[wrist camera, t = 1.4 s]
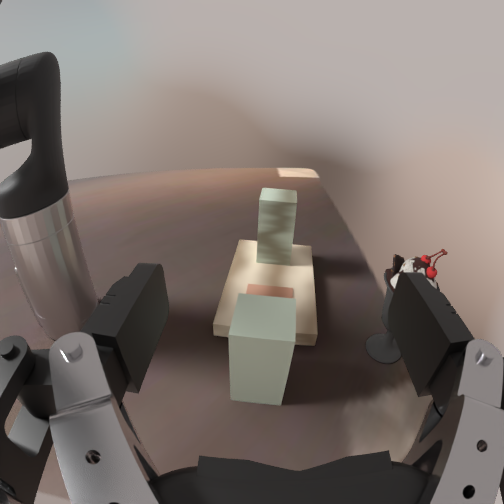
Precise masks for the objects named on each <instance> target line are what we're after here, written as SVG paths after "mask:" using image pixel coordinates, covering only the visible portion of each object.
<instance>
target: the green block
mask: <svg viewBox="0 0 504 504" xmlns="http://www.w3.org/2000/svg"><path fill="white" fill-rule="evenodd" d="M295 334H296V299H293V298H282V297H272V296H262V295H252V294H243V293H239V294H238V298H237V302H236V306H235V310H234V314H233V318H232V322H231V326H230V330H229V334H228V339H229V369H230V394H231V400H236V401H243V402H252V403H261V404H271V405H281V403H282V399H283V395H284V390H285V386H286V382H287V378H288V373H289V369H290V364H291V360H292V355H293V350H294V346H295Z"/></svg>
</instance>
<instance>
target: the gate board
mask: <svg viewBox="0 0 504 504" xmlns="http://www.w3.org/2000/svg"><path fill="white" fill-rule="evenodd" d="M296 208H297V192H296V191H294V190H283V189H271V188H263V189H262V192H261V196H260V200H259V219H258V239H257V241H249V240H240V241H239V244H238V247H237V250H236V253H235V256H234V259H233V262H232V265H231V268H230V272H229V275H228V278H227V281H226V284H225V287H224V290H223V293H222V297H221V300H220V303H219V306H218V309H217V312H216V316H215V319H214V322H213V331H214V335H215V336H222V337H228V334H229V330H230V326H231V322H232V318H233V314H234V310H235V306H236V302H237V298H238V294H239V293H243V294H252V295H262V296H272V297H282V298H293V299H296V334H295V344H296V345H310V346H315V342H316V339H317V335H318V332H317V315H316V300H315V287H314V274H313V263H312V252H311V246H303V245H293V244H292V243H293V235H294V226H295V217H296Z"/></svg>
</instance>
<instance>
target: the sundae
mask: <svg viewBox="0 0 504 504" xmlns="http://www.w3.org/2000/svg"><path fill="white" fill-rule="evenodd" d="M441 252H443V254H442V255H440V256H439V257H441V256H443V255H446V254H447V252H446V251H445V250H444V249H442V250H441V251H440V252H439V253H441ZM437 254H438V253H437ZM437 254H434V255H432V256H427V255H423V256H422V257H421V258H419V257H414V258H410V259H408V260H406V261H404V258H403V257H401V256H399V255H396V254H395V255H394V258H393V268H391V269H387V270H386V271H385V273H384V280H385V282H386V285H387V292H386V297H385V301H384V306H383V312H382V321H383V324H384V325H385V327H386V329H387V333H386V334H375V335H372V336H371V337H369V338H368V339H367V342H366V350H367V352H368V354H369V355H370V356H371V357H372V358H373V359H375V360H376V361H378V362H381V363H393V362H395V361H397V360H398V359H399V358H400V357H401V352H400V350H399V348H398V345H397V343H396V341H395V338H394V336H393V334H392V332H391V329H390V327H389V324H388V309H389V306H390V302H391V299H392V296H393V293H394V290H395V286H396V283H397V280H398V277H399V275H400V274H401V273H402V272H421V273H423V274H424V275H425V277H426V278H427V279H428V281H429V282H430V283H431V285H432V286H433V287H435V288H436V289H437V290H439V291H440V289H439V287H438V283H437V282H436V280H435V278H434V277H435V276H436V275H437V270H436V269H435V268H434V266H435V263H436V260H437V259H438V258H439V257H437V258H436V260H435V261H434V264H433V267H430V263H431V259H430V258H431V257H433V256H435V255H437Z"/></svg>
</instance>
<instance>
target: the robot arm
mask: <svg viewBox="0 0 504 504" xmlns="http://www.w3.org/2000/svg"><path fill="white" fill-rule="evenodd" d="M1 2H2V0H0V4H1ZM60 84H61V82H60V69H59V64H58V61H57V59H56V57H55V55H54V54H52V53H51V52H42V53H37V54H34V55H30V56H27V57H24V58H20V59H17V60H14V61H11V62H8V63H6V64H2V65H0V149H1V148H4V147H7V146H10V145H13V144H16V143H19V142H22V141H25V140H29V139H32V149H31V154H30V156H29V157H28V158H27V160H26V161H25V162H24V164H23V165H22V166H21V167H20V168H19V169H18V170H16V171H15V172H14V173H13V174H11V175H10V176H9V177H7V178H6V179H5V180H4V181H3V182H1V184H0V223H1V226H2V229H3V233H4V236H5V239H6V241H7V244H8V247H9V250H10V253H11V256H12V259H13V261H14V264H15V273H16V276H17V278H18V280H19V283H20V285H21V287H22V290H23V292H24V294H25V296H26V299H27V301H28V303H29V305H30V307H31V309H32V311H33V313H34V315H35V317H36V319H37V321H38V323H39V325H40V326H43V328H44V330H45V332H46V334H47V335H48V336H49V337H50V338H52V339H54V340H56V341H55V342H54V344H53V345H52V346H51V348H50V349H41V350H31V349H30V348H29V346H28V344H27V342H26V340H25V339H24V338H23V337H21V336H10V337H7V338H5V339H3V340H1V341H0V504H34V500H35V497H36V493H37V490H38V486H39V483H40V480H41V477H42V474H43V471H44V467H45V464H46V462H47V459H48V456H49V453H50V450H51V447H52V445H53V443H54V447H55V451H56V455H57V459H58V463H59V466H60V470H61V473H62V477H63V480H64V483H65V486H66V489H67V492H68V495H69V498H70V501H71V503H72V504H494V502H495V499H496V496H497V492H498V488H499V487H500V491H501V496H502V500H503V504H504V357H502V355H501V353H500V351H499V350H498V349H497V348H496V347H495V346H494V345H493V344H492V343H490V342H488V341H485V340H482V339H474V338H473V336H472V334H471V333H470V331H469V330H468V328H467V327H466V325H465V324H464V322H463V321H462V319H461V318H460V316H459V315H458V314H456V311H455V309H454V308H453V306H451V304H450V302H449V301H448V300H447V298H446V297H445V295H444V294H443V293H441V292H440V291H439V290H437V289H436V288H435V287H433V286H432V285H431V283H430V282H429V281H428V279H427V278H426V277H425V275H424V274H423V273H421V272H402V273H401V274H400V275H399V277H398V280H397V283H396V286H395V290H394V293H393V296H392V299H391V302H390V306H389V309H388V324H389V327H390V329H391V332H392V334H393V336H394V338H395V341H396V343H397V345H398V348H399V350H400V352H401V355H402V357H403V359H404V362H405V364H406V367H407V369H408V372H409V374H410V377H411V379H412V382H413V384H414V387H415V390H416V392H417V395H418V397H421V396H426V395H432V397H433V400H432V401H431V402H430V404H429V406H428V409H427V411H426V414H425V417H424V419H423V422H422V425H421V427H420V430H419V432H418V434H417V437H416V439H415V442H414V444H413V446H412V448H411V450H410V452H409V453H408V455H407V456H406V457H405V459H404V460H403V461H402V463H400V462H394V461H391V458H390V454H389V450H388V451H383V452H377V453H371V454H364V455H357V456H349V457H345V458H342V459H339V460H336V461H333V462H330V463H327V464H323V465H320V466H317V467H313V468H310V469H306V470H302V471H294V470H288V469H284V468H279V467H274V466H270V465H266V464H262V463H258V462H254V461H250V460H240V459H226V458H215V457H206V456H199V461H198V466H195V467H187V468H182V469H178V470H174V471H171V472H168V473H165V474H163V475H160V474H159V472H158V470H157V468H156V467H155V465H154V463H153V462H152V460H151V459H150V457H149V455H148V453H147V452H146V450H145V448H144V446H143V444H142V442H141V440H140V438H139V436H138V434H137V431H136V429H135V427H134V425H133V423H132V420H131V418H130V416H129V414H128V411H127V409H126V407H125V404H124V402H123V400H122V399H123V397H124V394H125V392H126V391H128V392H133V393H139V391H140V388H141V385H142V382H143V380H144V377H145V374H146V372H147V369H148V367H149V364H150V361H151V359H152V356H153V354H154V351H155V349H156V346H157V344H158V341H159V339H160V336H161V334H162V331H163V329H164V326H165V324H166V321H167V318H168V313H169V302H168V296H167V290H166V284H165V278H164V271H163V267H162V265H161V264H153V263H138V264H137V266H136V267H135V268H134V270H133V271H132V273H131V274H130V275H129V277H125V276H124V277H123V278H122V279H120V280H119V281H117V282H116V283H114V284H113V285H112V286H111V288H110V289H109V291H108V292H107V293H106V296H104V298H103V299H102V300H101V302H100V304H99V302H98V299H97V296H96V293H95V290H94V287H93V283H92V280H91V277H90V274H89V270H88V267H87V264H86V260H85V257H84V253H83V249H82V246H81V242H80V238H79V234H78V230H77V226H76V221H75V217H74V213H73V208H72V203H71V198H70V193H69V188H68V183H67V177H66V171H65V164H64V158H63V149H62V139H61V122H60V121H61V120H60V119H61V116H60V101H61V99H60V97H61V93H60V92H61V91H60V89H61V88H60V87H61V85H60ZM16 398H17V399H18V400H19V401H20V402H21V404H22V407H21V409H20V411H19V414H18V416H17V418H16V420H15V422H14V424H13V426H12V429H11V431H10V433H9V435H8V437H7V435H6V433H5V429H4V425H5V421H6V418H7V416H8V414H9V412H10V410H11V408H12V406H13V404H14V402H15V400H16Z"/></svg>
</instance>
